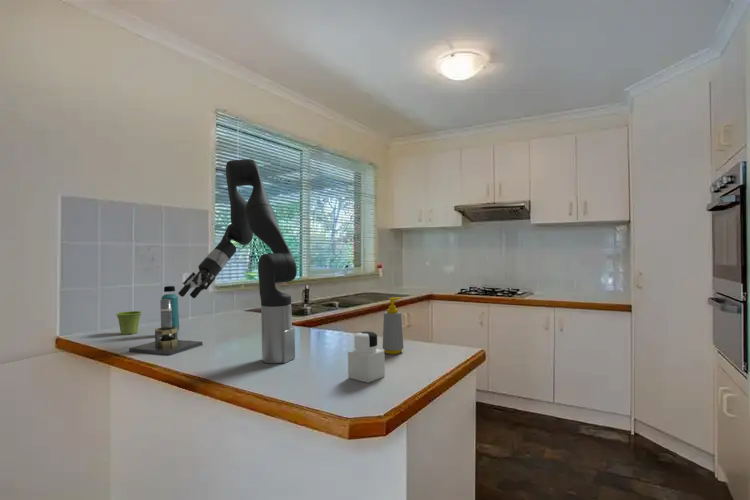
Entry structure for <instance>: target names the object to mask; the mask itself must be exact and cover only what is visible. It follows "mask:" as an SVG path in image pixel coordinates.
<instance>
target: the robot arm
mask: <svg viewBox="0 0 750 500" xmlns="http://www.w3.org/2000/svg"><path fill="white" fill-rule="evenodd" d="M225 177H226V178H225V180H226V185H227V193H228V197H229V205H230V224H229V225H228V226H227V227H226V230H225V232H224V234H223V236H222V238H221V240H220V242H219V243H218V244H217V246H215V247H214V249H213V250H211V251H210V252H209V254H207V256H206V257H205V258H204V259H203V260H202V261H201V263H200V264H198V270H199V271H198V272H197V273H195V272H192V273H191V274H190V275H189V276H188V277H187V278H186V279H185V281H183V282H182V285H183V287H182V288H181V289H180V290H179V292H178V293H177V294H178V295H179V296H180V297H182V298H183V297H185V296H186V294H187V293H188V292H189V291H190V290H191V289H192V288H194V289H193V290H192V291H191V292H190V293H189V296H190V297H191V298H192V299H196V297H198V295H199V294H200V293H201V292H202V291H204V290H208V289H209V287H210V286H211V285H212V284H213V283H214V281H215V279H216V278H217V276H218V274H220V272H222V270H223V269H224V267H226V265H227V263H228V262H229V261H230V260H231V259H232V258H233V256H234V254H235V253H236V252H237V247H236V246H235V244H234V243H233V242H236V243H238V244H239V245H242V246H246V245H249V244H250V243H251V241H252V240H253V236H254V235H255V237H257V238H258V239H259V240H261V242H263V243H264V244H265V245H266V246H268V248H270V250H271V251H272V252H271V253H263V254H261V256H259V259H258V262H257V263H258V264H257V274H258V284H259V285H258V288H259V298H260V313H261V314H260V315H261V318H260V320H261V360H262V362H263V363H267V364H286V363H288V362H290V361H291V360H293V359H294V360H295V358H296V338H295V335H296V333H295V332H296V331H295V330H296V329H295V328H294V327H293V324H292V323H293V322H292V321H293V317H292V316H293V315H292V296H291V294H288V293H285V292H282V291H279V289H277V287H276V284H277V283H288V282H292V281H294V280H295V278H296V277H297V273H298V272H297V271H298V270H297V269H298V268H297V264H296V261H295V257H294V255H293V253H292V251H291V250H290V247H289V246H288V244H287V241H286V239H285V238H284V235H283V232H282V231H281V229H280V226H279V223H278V221H277V217H276V214H275V211H274V210H273V207H272V205H271V203H270V200H269V197H268V194H267V193H266V192H267V191H266V190H265V185H264V182H263V179H262V176H261V172H260V169H259V166H258V164H257V162H256V161H255V160H254V159H251V158H245V159H234V160H229V161H227V162H226V165H225ZM244 186H252V190H251V194H250V196H249V199H248V200H247V201H246V199H245V198H244V197H243V196H242V195H241V194H240V192H239V191H238V188H237V187H244ZM232 241H233V242H232Z"/></svg>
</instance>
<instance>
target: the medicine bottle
mask: <svg viewBox="0 0 750 500" xmlns="http://www.w3.org/2000/svg"><path fill="white" fill-rule="evenodd" d="M385 363H386V360H385V351H384V349H379V348H378V334H377V333H375V332H373V331H360V332H357V333H355V334H354V349H353V350H349V351H348V352H347V376H348V377H347V378H348V379H351V380H355V381H359V382H363V383H367V384H368V383H372V382H375V381H377V380H379V379H382V378H384V377H385V376H386V367H385Z"/></svg>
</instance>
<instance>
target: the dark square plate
mask: <svg viewBox="0 0 750 500" xmlns="http://www.w3.org/2000/svg"><path fill="white" fill-rule="evenodd" d="M178 332H179V331H178V327H177V326H174V327H172V329H170V330H161V327H158V328H155V329H154V338H155V339H154V341H151V342H147V343H143V344H140V345H136V346H133V347H128V352H129V353H141V354H142V353H143V354H149V355H150V354H152V355H164V356H173V355H176V354H178V353H182V352H185V351H188V350H192V349H194V348H197V347H201V346H203V341H197V340H182V339H181V340H180V339H179V338H178ZM165 334H173V340H168V341H161V336H160V335H165Z"/></svg>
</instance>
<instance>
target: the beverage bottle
mask: <svg viewBox="0 0 750 500" xmlns="http://www.w3.org/2000/svg"><path fill="white" fill-rule="evenodd" d="M175 288H176V287H175V286H174V285H167V286H164V287H163V292H164V293H167V292H168V294H163V295H162V296H161V298H160V300H163V299H172V327H174V326H177V327H178V332H179V330H180V318H179V317H180V313H179V296H178V295H177V294H175V293H171V292H176V289H175Z"/></svg>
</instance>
